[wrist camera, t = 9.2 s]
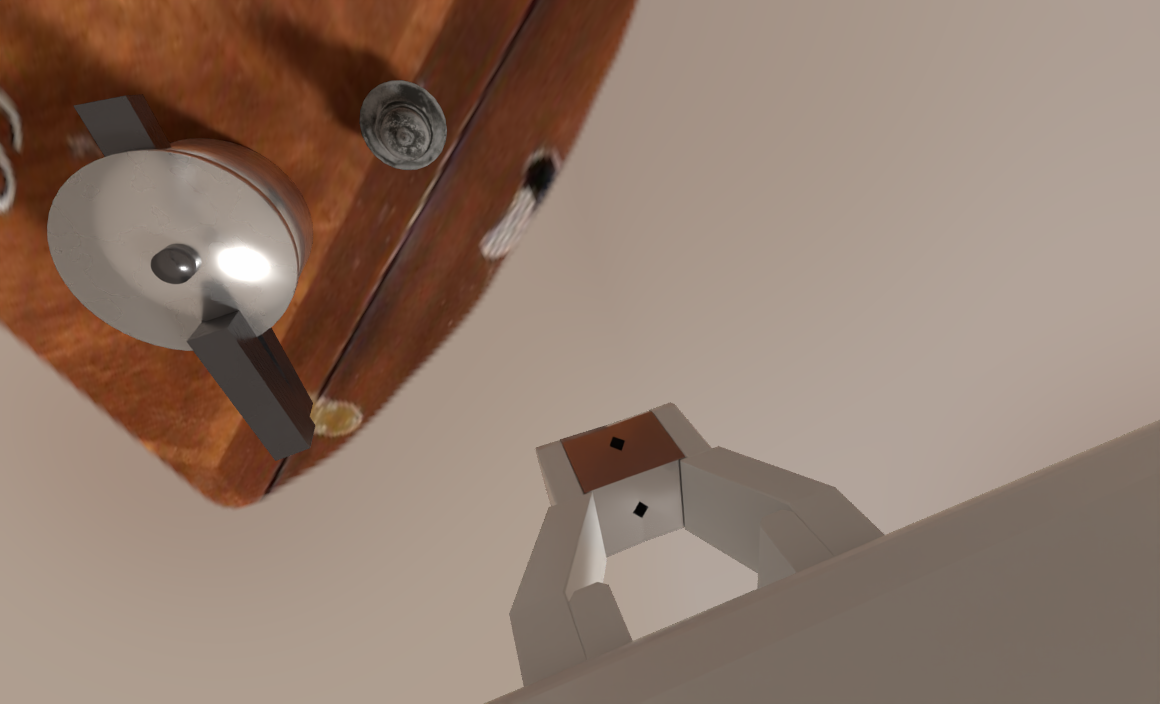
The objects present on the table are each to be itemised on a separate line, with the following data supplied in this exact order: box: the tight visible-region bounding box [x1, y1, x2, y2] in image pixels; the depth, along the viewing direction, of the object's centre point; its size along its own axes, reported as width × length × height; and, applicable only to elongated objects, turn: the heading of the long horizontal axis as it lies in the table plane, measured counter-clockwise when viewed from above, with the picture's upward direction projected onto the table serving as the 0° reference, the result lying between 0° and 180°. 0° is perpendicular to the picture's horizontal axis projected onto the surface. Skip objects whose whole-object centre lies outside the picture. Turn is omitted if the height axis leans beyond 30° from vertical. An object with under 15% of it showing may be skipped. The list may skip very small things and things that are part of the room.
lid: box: [47, 149, 315, 461], centre depth 33 cm, size 20×12×4 cm, turn 14°
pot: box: [74, 94, 313, 417], centre depth 37 cm, size 23×12×8 cm, turn 11°
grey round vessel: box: [360, 80, 447, 170], centre depth 35 cm, size 6×6×12 cm
